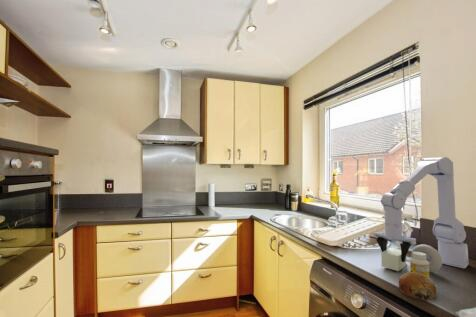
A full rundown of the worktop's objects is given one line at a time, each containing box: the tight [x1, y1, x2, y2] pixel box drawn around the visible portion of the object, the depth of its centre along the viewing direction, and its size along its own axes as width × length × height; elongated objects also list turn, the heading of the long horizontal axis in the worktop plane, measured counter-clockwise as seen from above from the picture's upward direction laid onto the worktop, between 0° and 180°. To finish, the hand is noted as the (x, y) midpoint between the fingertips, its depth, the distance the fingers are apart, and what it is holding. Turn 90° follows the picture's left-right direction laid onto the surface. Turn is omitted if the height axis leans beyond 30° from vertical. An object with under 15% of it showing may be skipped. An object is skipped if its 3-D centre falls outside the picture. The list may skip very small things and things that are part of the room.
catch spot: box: [406, 255, 412, 262], centre depth 112 cm, size 6×6×1 cm
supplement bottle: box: [409, 252, 430, 279], centre depth 90 cm, size 5×5×10 cm
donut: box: [410, 243, 443, 273], centre depth 99 cm, size 10×3×10 cm, turn 32°
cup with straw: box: [395, 206, 414, 249], centre depth 124 cm, size 8×9×20 cm
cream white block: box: [381, 247, 407, 272], centre depth 102 cm, size 9×6×5 cm, turn 132°
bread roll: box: [398, 271, 437, 301], centre depth 82 cm, size 10×10×8 cm
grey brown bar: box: [396, 247, 428, 260], centre depth 116 cm, size 11×1×2 cm, turn 41°
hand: (393, 259), depth 102 cm, fingers closed on cream white block, 6 cm apart
